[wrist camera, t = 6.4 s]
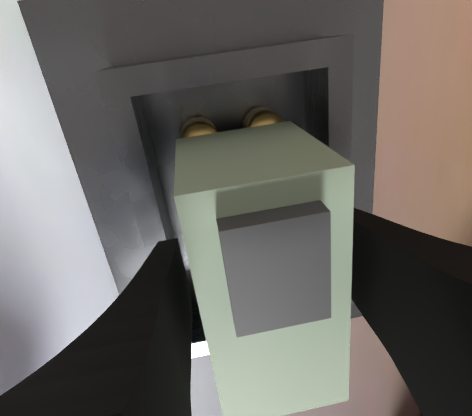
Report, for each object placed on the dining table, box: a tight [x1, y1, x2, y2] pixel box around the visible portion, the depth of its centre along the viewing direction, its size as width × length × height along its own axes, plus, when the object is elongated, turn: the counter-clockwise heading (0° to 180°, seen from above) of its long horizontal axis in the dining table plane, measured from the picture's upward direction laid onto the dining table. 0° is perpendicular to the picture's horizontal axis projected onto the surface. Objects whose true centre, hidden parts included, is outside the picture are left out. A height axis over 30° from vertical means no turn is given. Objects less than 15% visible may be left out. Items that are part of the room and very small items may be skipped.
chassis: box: [18, 0, 384, 358], centre depth 14 cm, size 12×16×3 cm
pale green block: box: [174, 121, 355, 416], centre depth 11 cm, size 4×8×6 cm, turn 7°
